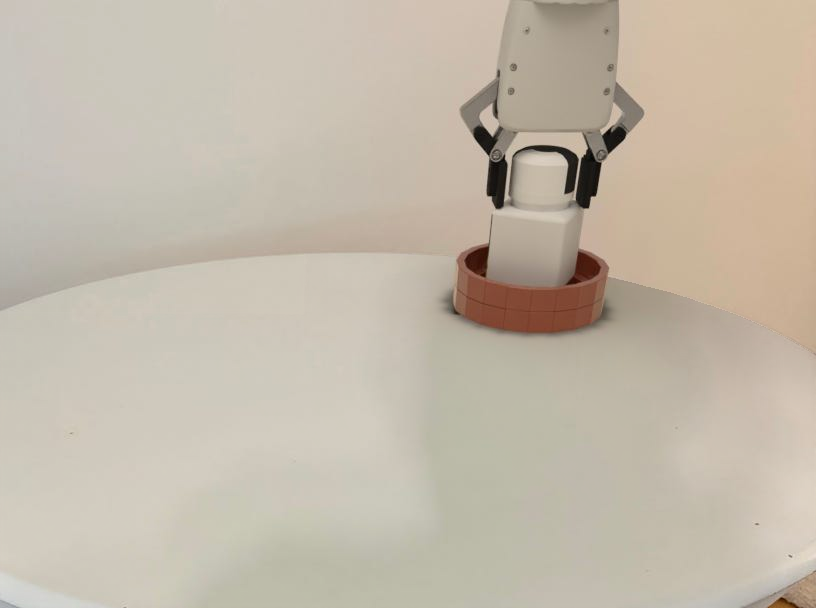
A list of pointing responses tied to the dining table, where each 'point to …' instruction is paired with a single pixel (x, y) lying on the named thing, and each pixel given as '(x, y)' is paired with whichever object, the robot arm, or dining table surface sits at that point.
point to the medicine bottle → (537, 220)
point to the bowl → (529, 296)
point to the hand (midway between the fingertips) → (539, 203)
